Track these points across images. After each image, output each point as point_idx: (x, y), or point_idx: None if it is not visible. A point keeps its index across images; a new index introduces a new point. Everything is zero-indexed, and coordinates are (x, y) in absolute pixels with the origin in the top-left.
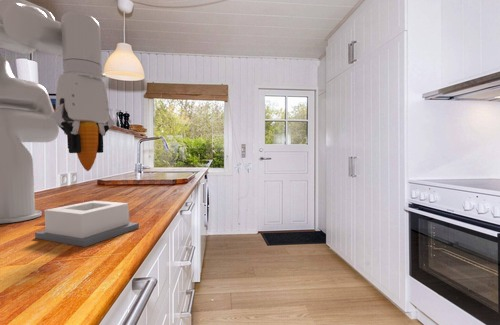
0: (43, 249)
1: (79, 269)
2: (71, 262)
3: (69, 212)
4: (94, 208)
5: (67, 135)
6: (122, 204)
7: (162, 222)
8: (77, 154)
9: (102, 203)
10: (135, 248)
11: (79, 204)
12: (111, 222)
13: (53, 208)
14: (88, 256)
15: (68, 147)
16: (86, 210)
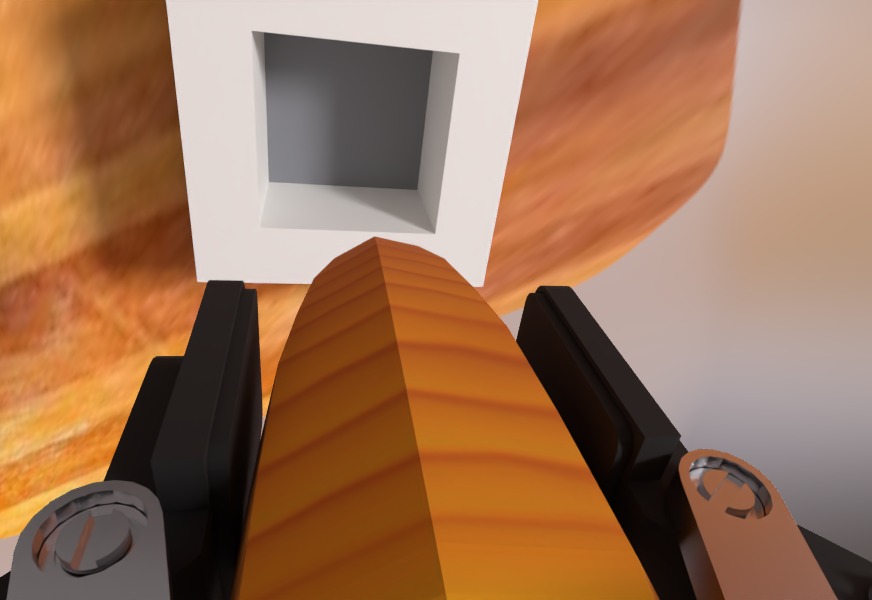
0: (95, 116)
1: (76, 391)
2: (90, 333)
3: (193, 187)
4: (448, 70)
5: (95, 510)
6: None
7: None
8: (304, 300)
9: (453, 147)
10: (269, 401)
11: (389, 13)
12: None
13: None
14: (150, 337)
15: (152, 372)
16: (267, 231)
